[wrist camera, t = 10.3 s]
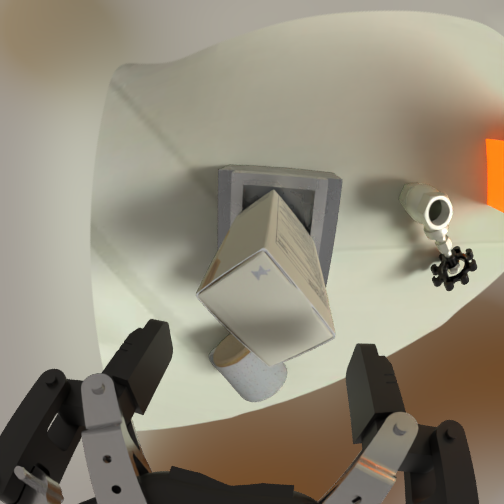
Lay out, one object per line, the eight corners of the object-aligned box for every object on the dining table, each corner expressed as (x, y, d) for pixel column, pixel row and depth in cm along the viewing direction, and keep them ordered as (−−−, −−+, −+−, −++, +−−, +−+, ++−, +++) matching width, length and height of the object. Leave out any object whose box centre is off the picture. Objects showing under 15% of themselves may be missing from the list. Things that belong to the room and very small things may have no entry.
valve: (382, 199, 28) (424, 273, 30) (404, 215, 22) (446, 300, 24) (423, 166, 25) (460, 244, 28) (453, 175, 19) (486, 266, 22)
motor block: (333, 172, 27) (351, 186, 19) (317, 289, 33) (323, 334, 25) (229, 164, 28) (207, 175, 20) (227, 280, 34) (210, 323, 26)
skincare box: (234, 216, 24) (186, 291, 12) (274, 187, 22) (260, 239, 11) (278, 271, 25) (268, 372, 14) (318, 246, 24) (338, 339, 13)
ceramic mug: (258, 316, 35) (250, 357, 28) (289, 355, 38) (286, 396, 31) (199, 342, 39) (183, 379, 32) (231, 375, 41) (221, 412, 34)
